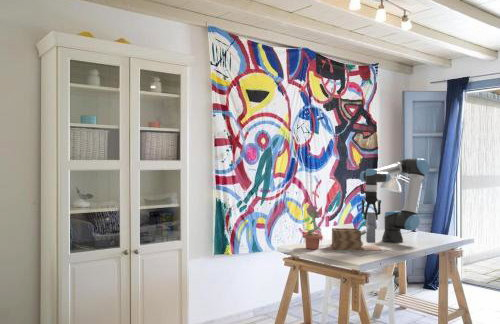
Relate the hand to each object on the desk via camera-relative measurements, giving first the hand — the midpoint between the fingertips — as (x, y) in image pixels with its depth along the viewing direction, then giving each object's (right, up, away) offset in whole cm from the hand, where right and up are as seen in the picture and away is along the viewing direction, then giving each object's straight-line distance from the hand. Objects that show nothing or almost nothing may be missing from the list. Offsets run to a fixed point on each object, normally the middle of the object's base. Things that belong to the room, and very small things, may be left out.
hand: (370, 224), depth 301 cm
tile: (0, -17, 0) cm, 17 cm away
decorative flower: (-40, -17, -1) cm, 43 cm away
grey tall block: (0, -12, 0) cm, 12 cm away
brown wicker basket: (-17, -17, +1) cm, 24 cm away
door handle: (-8, -17, +19) cm, 27 cm away
